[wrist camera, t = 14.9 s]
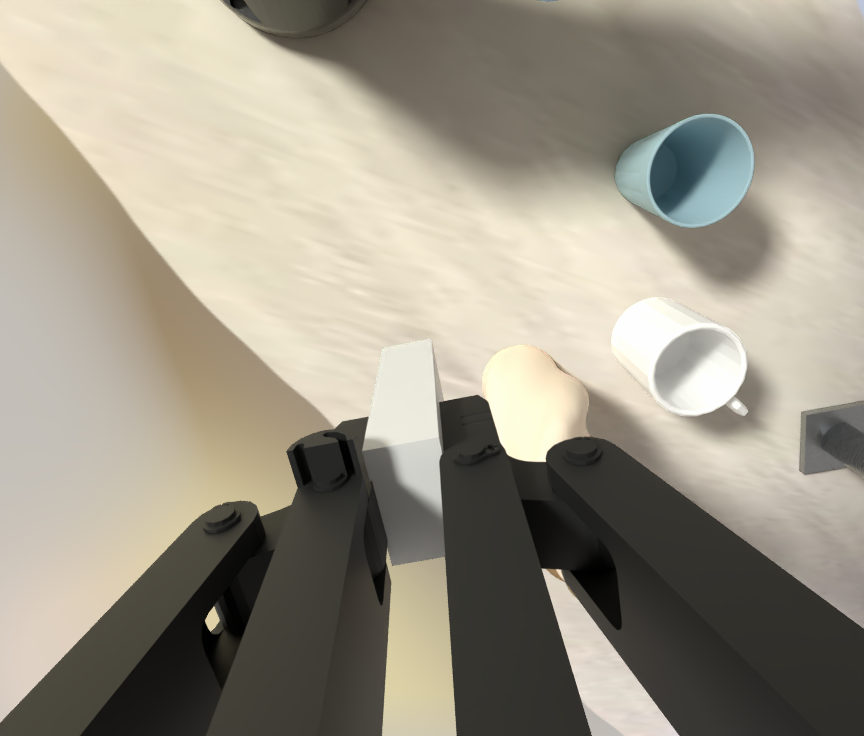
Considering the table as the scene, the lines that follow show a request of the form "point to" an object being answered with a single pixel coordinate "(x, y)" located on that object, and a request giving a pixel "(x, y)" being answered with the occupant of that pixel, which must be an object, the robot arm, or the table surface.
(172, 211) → the table surface
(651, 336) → the mug
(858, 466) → the post
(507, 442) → the water bottle
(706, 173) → the cup
